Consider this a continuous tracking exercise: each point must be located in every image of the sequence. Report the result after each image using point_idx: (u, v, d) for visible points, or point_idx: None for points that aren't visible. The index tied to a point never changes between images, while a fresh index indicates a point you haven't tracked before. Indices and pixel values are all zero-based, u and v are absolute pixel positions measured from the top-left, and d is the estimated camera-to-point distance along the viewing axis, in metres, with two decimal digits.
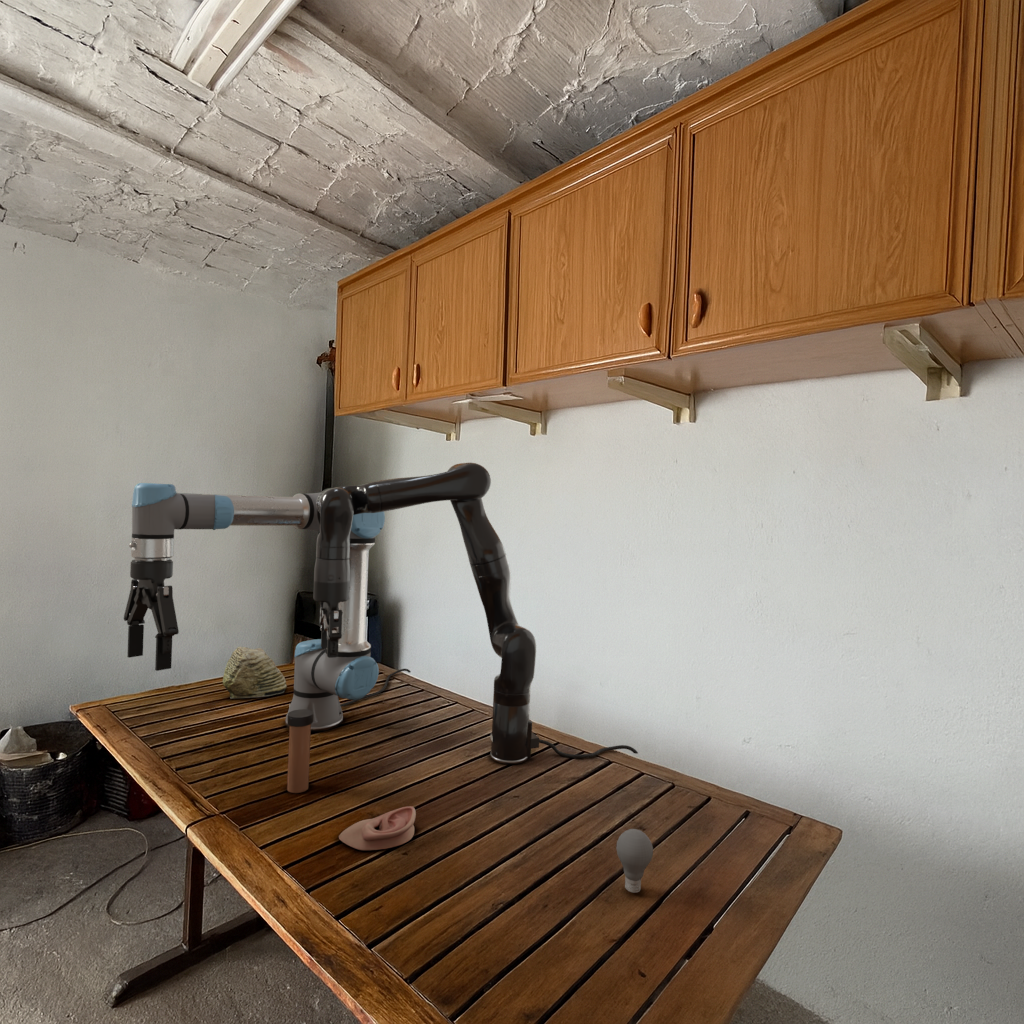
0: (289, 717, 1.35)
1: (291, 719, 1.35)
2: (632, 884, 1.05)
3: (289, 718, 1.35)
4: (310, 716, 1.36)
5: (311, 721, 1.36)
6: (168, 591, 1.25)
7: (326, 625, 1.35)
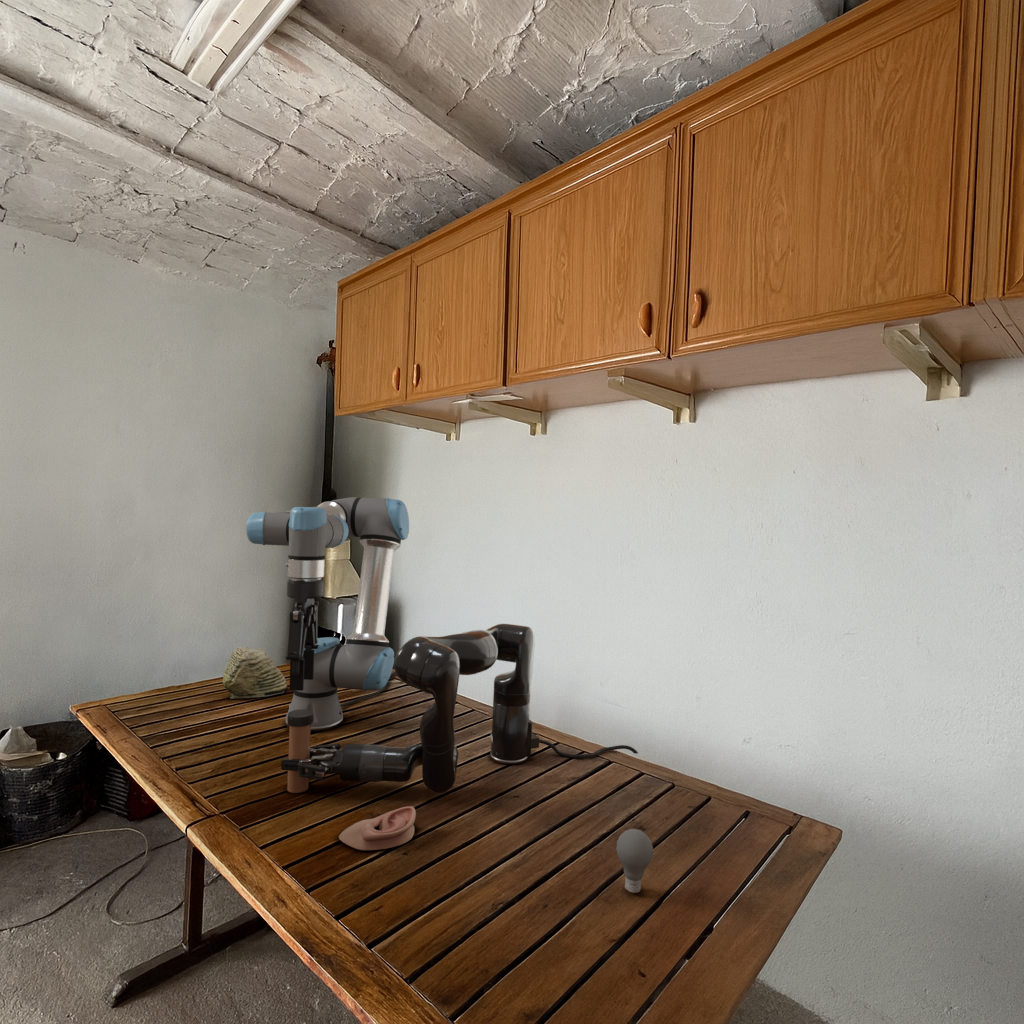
0: (289, 717, 1.35)
1: (291, 719, 1.35)
2: (632, 884, 1.05)
3: (289, 718, 1.35)
4: (310, 716, 1.36)
5: (311, 721, 1.36)
6: (297, 617, 1.30)
7: None
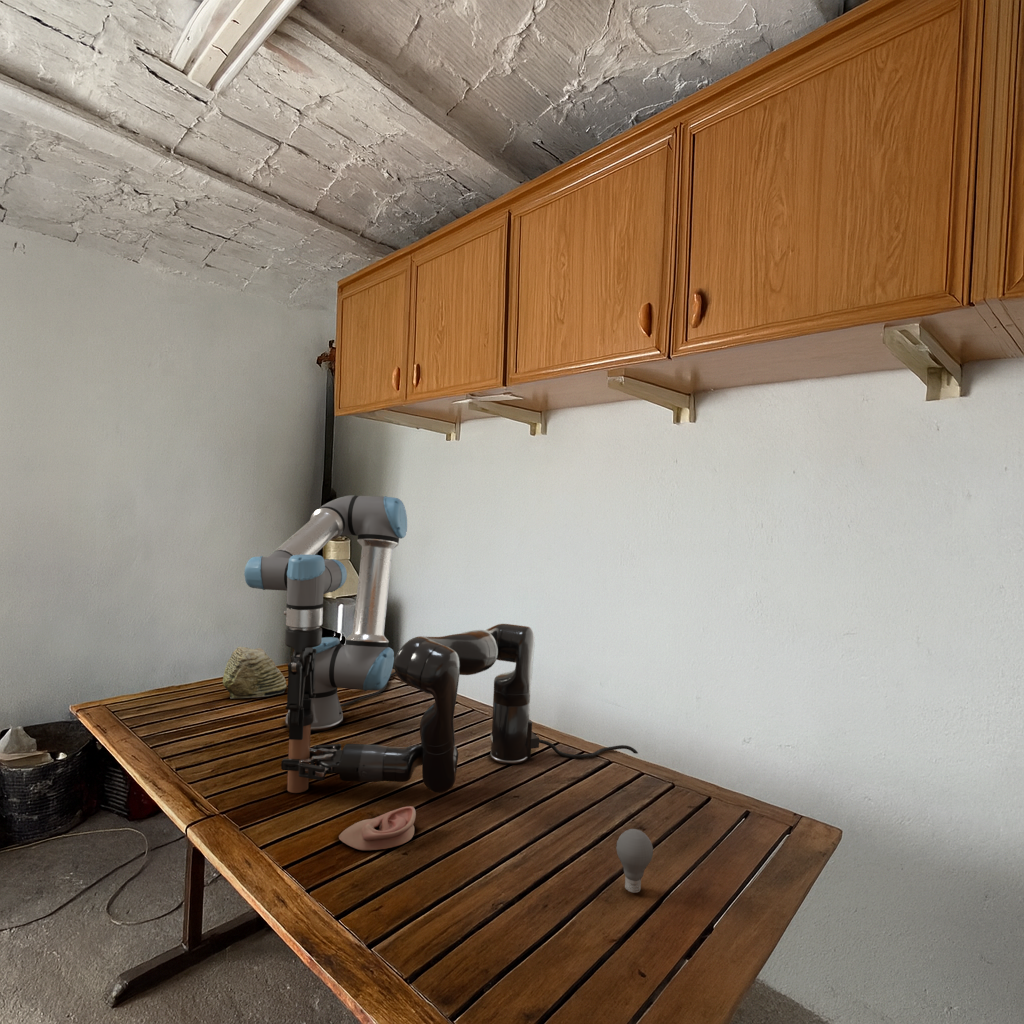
0: (289, 717, 1.35)
1: None
2: (632, 884, 1.05)
3: (289, 718, 1.35)
4: (310, 716, 1.36)
5: (311, 721, 1.36)
6: (296, 669, 1.30)
7: None
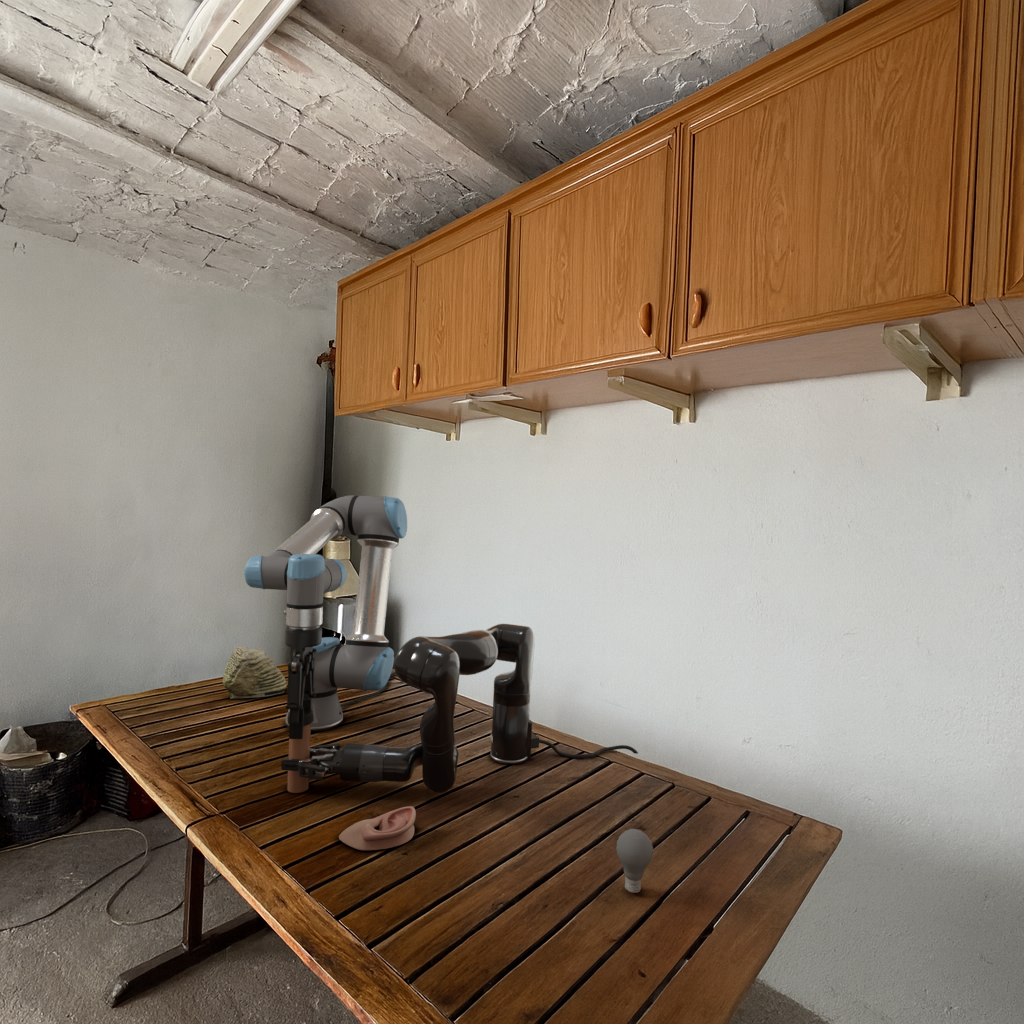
0: (306, 717, 1.35)
1: (308, 717, 1.36)
2: (632, 884, 1.05)
3: (306, 718, 1.35)
4: None
5: None
6: (296, 668, 1.30)
7: None
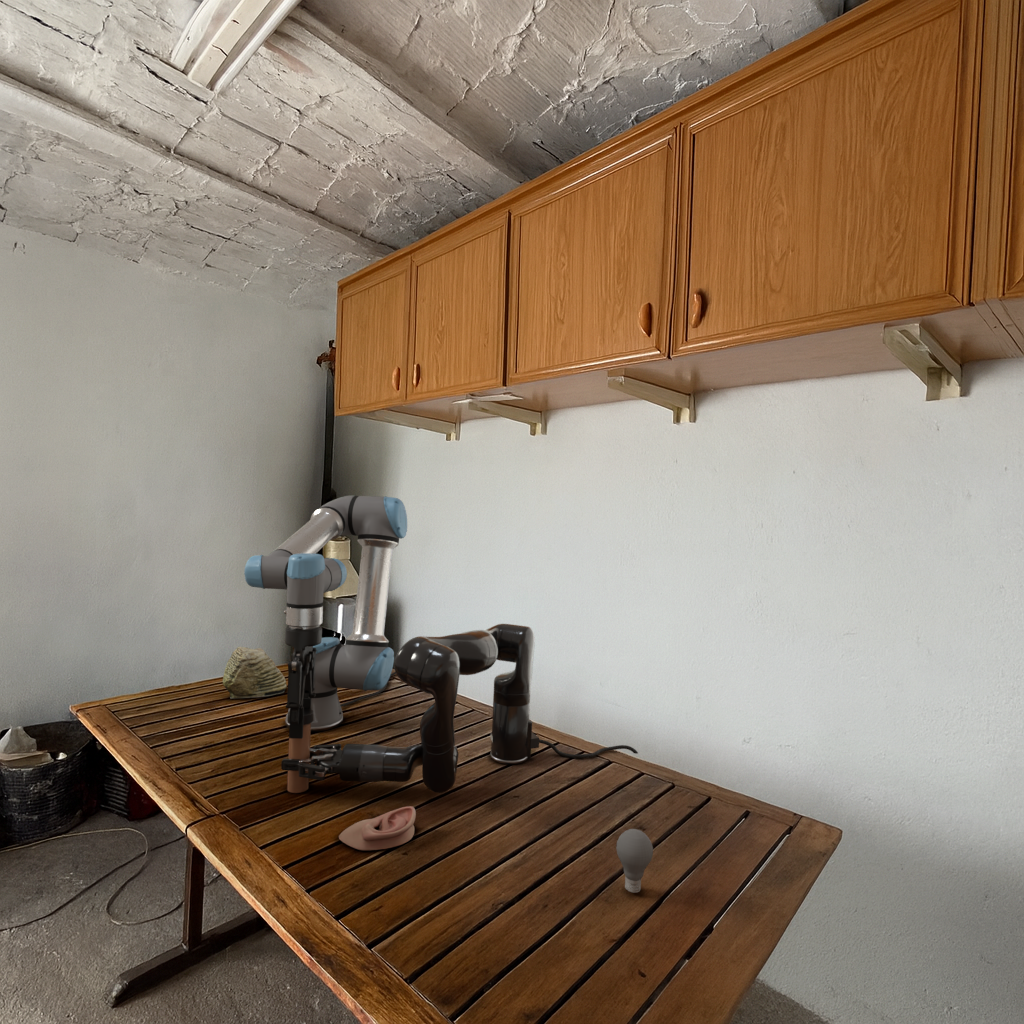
0: None
1: None
2: (632, 884, 1.05)
3: None
4: None
5: None
6: (296, 668, 1.30)
7: None
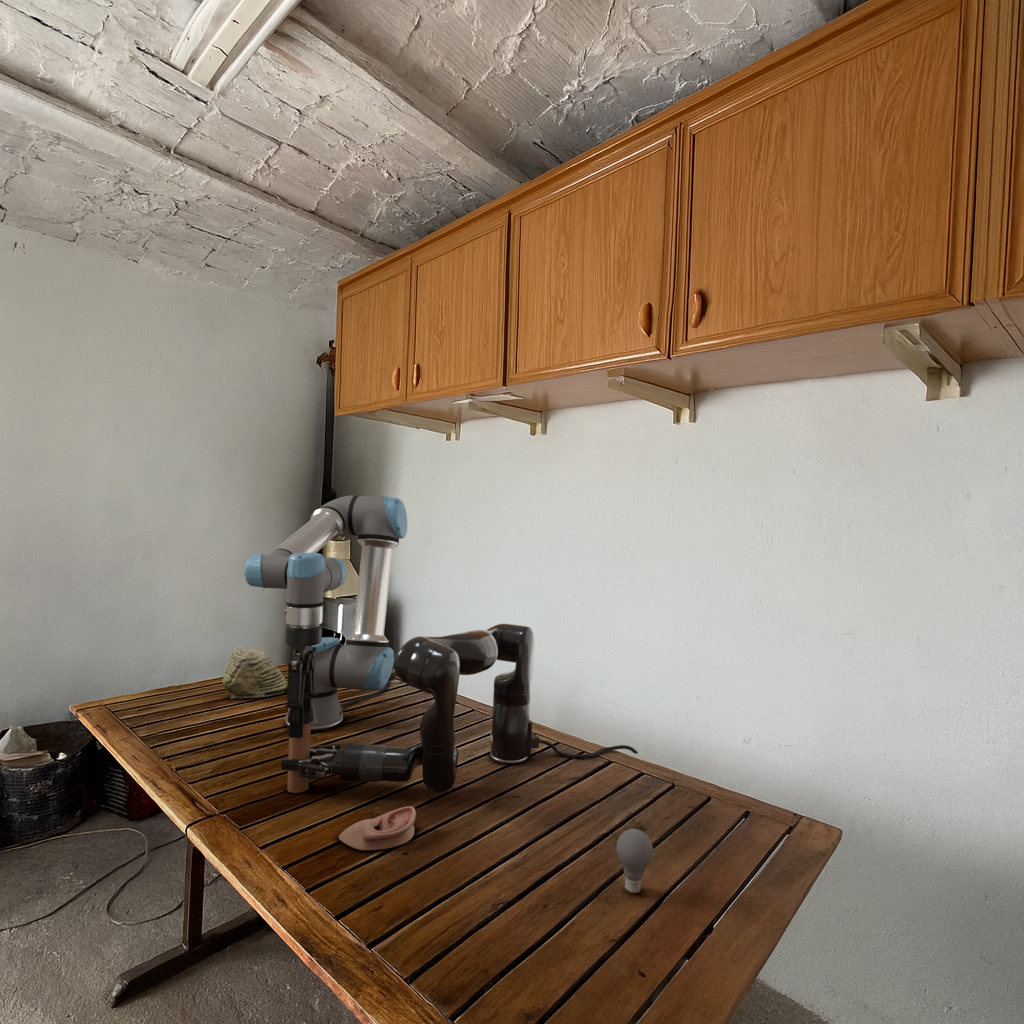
0: None
1: None
2: (632, 884, 1.05)
3: None
4: None
5: None
6: (296, 667, 1.30)
7: None
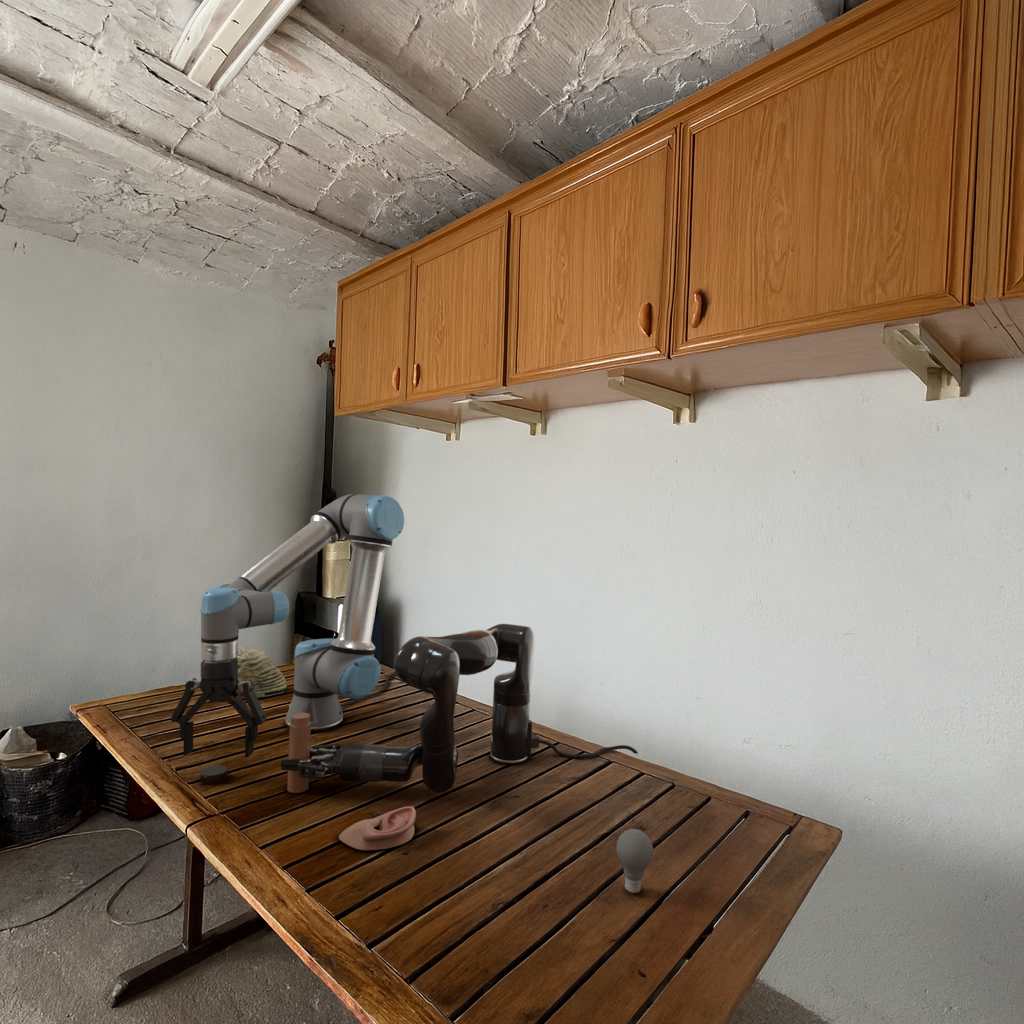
0: (201, 774, 1.38)
1: (202, 775, 1.38)
2: (632, 884, 1.05)
3: (201, 775, 1.38)
4: (220, 774, 1.38)
5: (222, 779, 1.39)
6: (251, 685, 1.40)
7: None
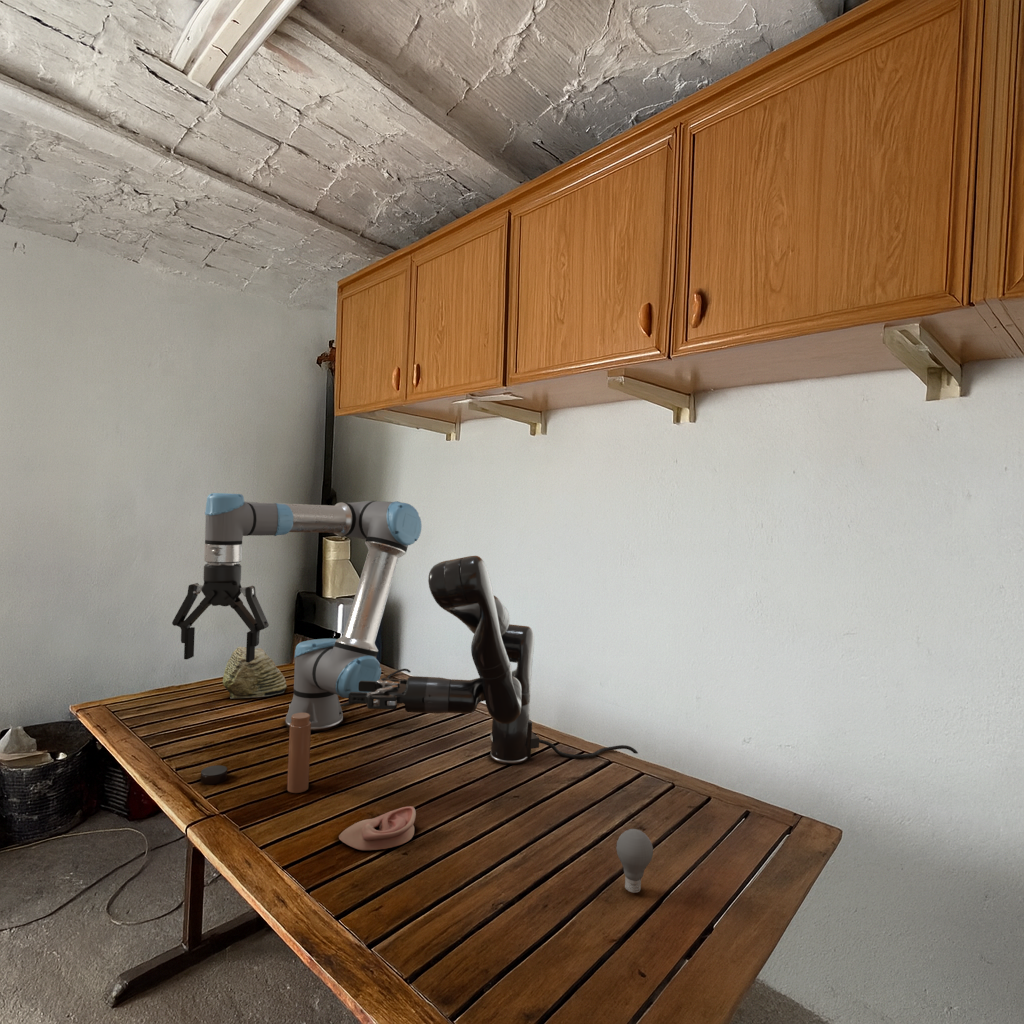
0: (201, 774, 1.38)
1: (202, 775, 1.38)
2: (632, 884, 1.05)
3: (201, 775, 1.38)
4: (220, 774, 1.38)
5: (222, 779, 1.39)
6: (253, 590, 1.40)
7: None
